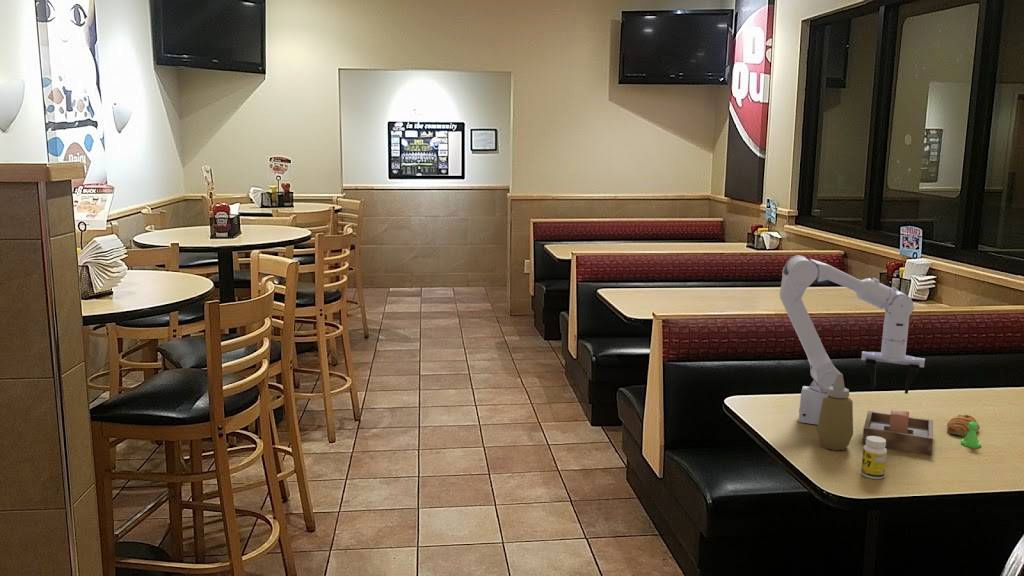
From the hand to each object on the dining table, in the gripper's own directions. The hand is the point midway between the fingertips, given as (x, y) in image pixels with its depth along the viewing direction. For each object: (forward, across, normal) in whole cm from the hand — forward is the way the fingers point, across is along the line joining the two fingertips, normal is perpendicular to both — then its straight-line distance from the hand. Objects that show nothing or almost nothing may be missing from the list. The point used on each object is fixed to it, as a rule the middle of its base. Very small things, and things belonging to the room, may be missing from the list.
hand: (889, 390), depth 209 cm
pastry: (+10, +18, +5) cm, 21 cm away
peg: (+10, +3, -10) cm, 14 cm away
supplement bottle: (+10, -1, -37) cm, 38 cm away
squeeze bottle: (+10, -10, -23) cm, 27 cm away
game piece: (+10, +19, -5) cm, 22 cm away
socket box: (+9, +3, -10) cm, 14 cm away
